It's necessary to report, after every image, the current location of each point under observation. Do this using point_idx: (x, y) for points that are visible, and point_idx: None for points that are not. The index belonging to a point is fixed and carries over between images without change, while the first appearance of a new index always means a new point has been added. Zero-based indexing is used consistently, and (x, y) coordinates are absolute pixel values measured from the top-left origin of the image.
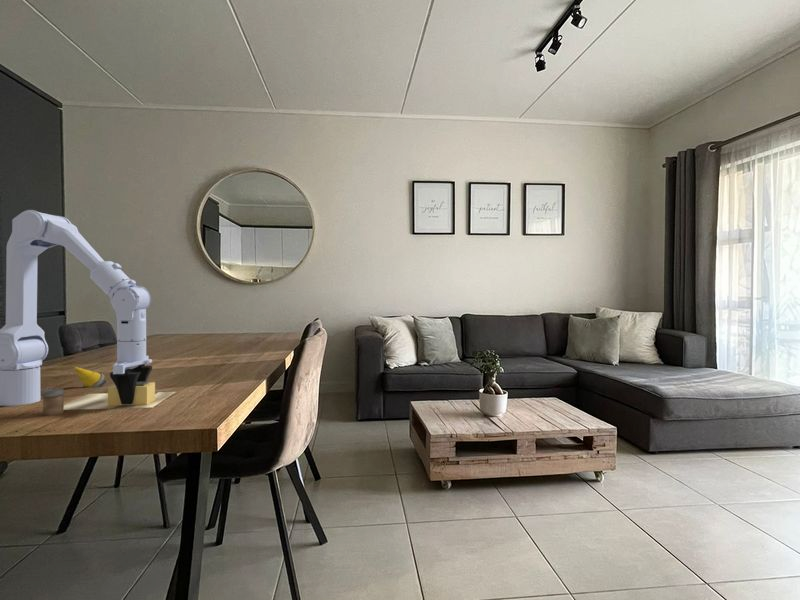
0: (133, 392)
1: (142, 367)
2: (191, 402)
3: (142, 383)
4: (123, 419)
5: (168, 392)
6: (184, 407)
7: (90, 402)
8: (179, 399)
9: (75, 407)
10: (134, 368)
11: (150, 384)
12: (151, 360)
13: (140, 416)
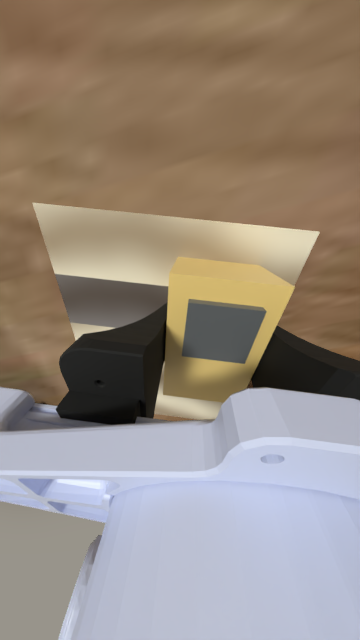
0: (276, 326)
1: (143, 392)
2: (157, 67)
3: (240, 320)
4: (344, 300)
5: (52, 234)
6: (266, 83)
7: None
8: (94, 172)
9: (221, 402)
10: (147, 416)
11: (231, 282)
12: (306, 423)
13: (336, 260)
